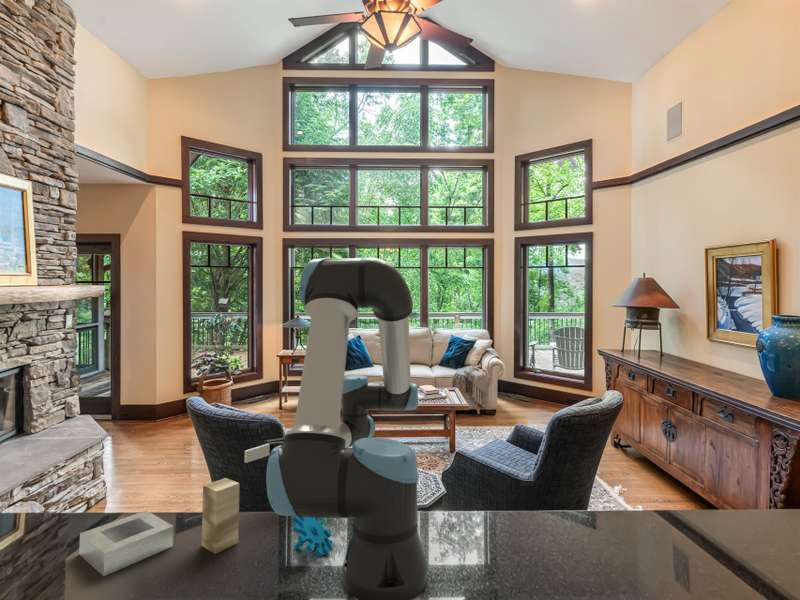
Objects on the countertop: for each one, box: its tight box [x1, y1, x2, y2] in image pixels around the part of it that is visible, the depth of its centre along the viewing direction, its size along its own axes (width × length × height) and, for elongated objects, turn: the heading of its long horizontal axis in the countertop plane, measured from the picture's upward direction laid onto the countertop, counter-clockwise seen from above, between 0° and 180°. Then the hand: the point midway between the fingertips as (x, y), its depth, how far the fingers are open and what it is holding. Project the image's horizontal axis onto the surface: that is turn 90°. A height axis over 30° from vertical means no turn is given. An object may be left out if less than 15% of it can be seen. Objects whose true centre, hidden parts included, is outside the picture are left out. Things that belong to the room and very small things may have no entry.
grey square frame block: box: [78, 510, 174, 577], centre depth 82 cm, size 12×12×4 cm
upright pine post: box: [201, 477, 240, 555], centre depth 84 cm, size 5×5×12 cm
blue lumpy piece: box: [291, 516, 334, 557], centre depth 83 cm, size 11×6×10 cm
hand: (263, 462), depth 93 cm, fingers open, 13 cm apart
